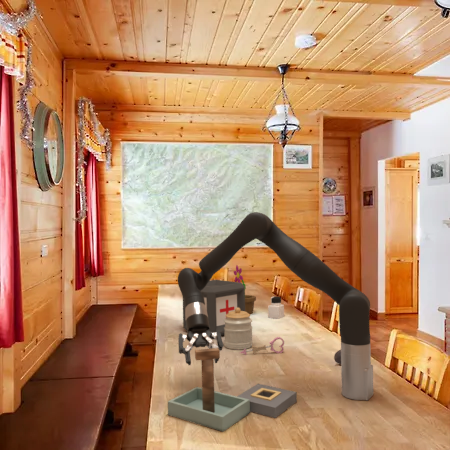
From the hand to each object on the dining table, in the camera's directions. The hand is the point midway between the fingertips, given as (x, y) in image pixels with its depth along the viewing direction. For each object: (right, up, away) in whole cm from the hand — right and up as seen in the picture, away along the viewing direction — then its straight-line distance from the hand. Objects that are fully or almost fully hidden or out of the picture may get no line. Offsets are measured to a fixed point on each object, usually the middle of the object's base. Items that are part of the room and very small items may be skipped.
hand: (203, 363), depth 141 cm
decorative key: (+22, -12, +51) cm, 57 cm away
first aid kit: (+1, -12, +93) cm, 94 cm away
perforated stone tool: (+57, -11, +36) cm, 68 cm away
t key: (+2, -12, -8) cm, 15 cm away
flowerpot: (+19, -11, +135) cm, 137 cm away
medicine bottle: (+37, -11, +123) cm, 129 cm away
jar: (+13, -12, +64) cm, 66 cm away
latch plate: (+20, -12, -2) cm, 23 cm away
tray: (+2, -13, -8) cm, 15 cm away
